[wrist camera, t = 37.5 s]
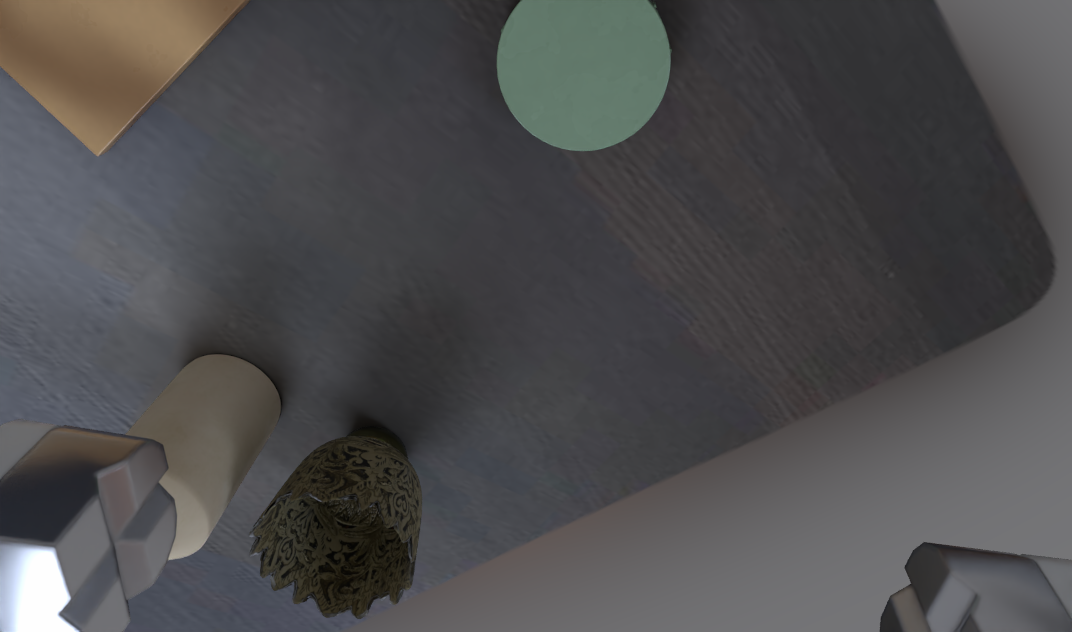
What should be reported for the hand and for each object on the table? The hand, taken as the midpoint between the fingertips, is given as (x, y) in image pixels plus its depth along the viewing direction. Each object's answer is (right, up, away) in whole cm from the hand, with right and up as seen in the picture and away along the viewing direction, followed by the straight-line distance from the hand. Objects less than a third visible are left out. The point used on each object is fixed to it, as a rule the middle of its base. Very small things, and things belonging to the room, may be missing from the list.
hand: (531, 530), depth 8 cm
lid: (+2, +12, +21) cm, 24 cm away
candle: (-16, -2, +32) cm, 36 cm away
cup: (-8, -5, +33) cm, 34 cm away
